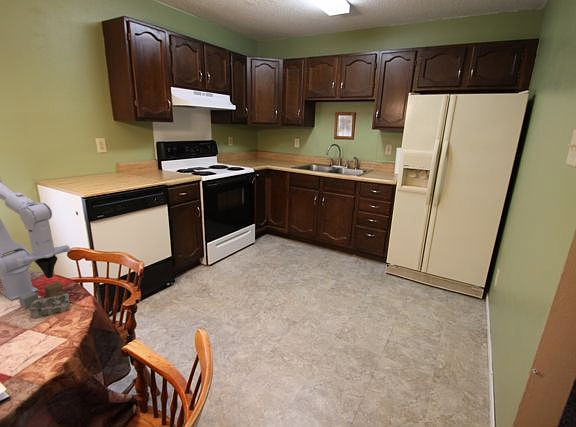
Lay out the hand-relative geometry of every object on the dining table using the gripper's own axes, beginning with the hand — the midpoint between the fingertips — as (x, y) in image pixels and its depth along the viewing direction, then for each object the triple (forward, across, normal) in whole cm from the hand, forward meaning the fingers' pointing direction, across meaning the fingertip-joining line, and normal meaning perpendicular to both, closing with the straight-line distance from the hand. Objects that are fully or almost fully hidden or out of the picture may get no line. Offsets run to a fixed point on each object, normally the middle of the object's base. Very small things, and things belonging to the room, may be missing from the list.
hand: (49, 277), depth 106 cm
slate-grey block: (+10, -6, +4) cm, 12 cm away
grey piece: (+10, -3, -5) cm, 11 cm away
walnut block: (+10, +2, +4) cm, 10 cm away
